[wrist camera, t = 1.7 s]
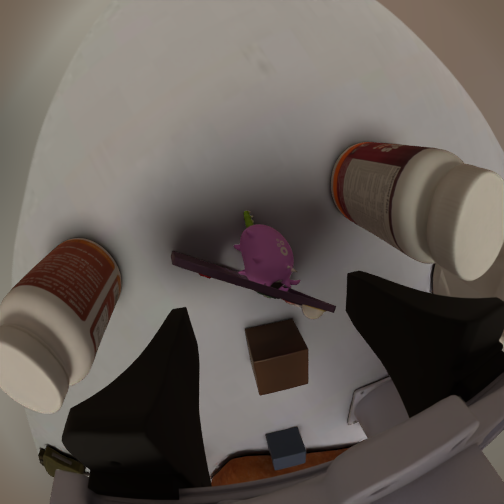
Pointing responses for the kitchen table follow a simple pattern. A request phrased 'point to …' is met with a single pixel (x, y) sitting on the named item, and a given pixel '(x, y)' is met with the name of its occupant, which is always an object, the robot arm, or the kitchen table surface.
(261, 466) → the bread
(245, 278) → the purple piece
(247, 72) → the kitchen table surface
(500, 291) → the mug
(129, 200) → the kitchen table surface
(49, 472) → the landmine
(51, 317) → the pill bottle
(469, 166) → the pill bottle
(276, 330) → the walnut block
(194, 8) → the kitchen table surface
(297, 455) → the slate-blue block
